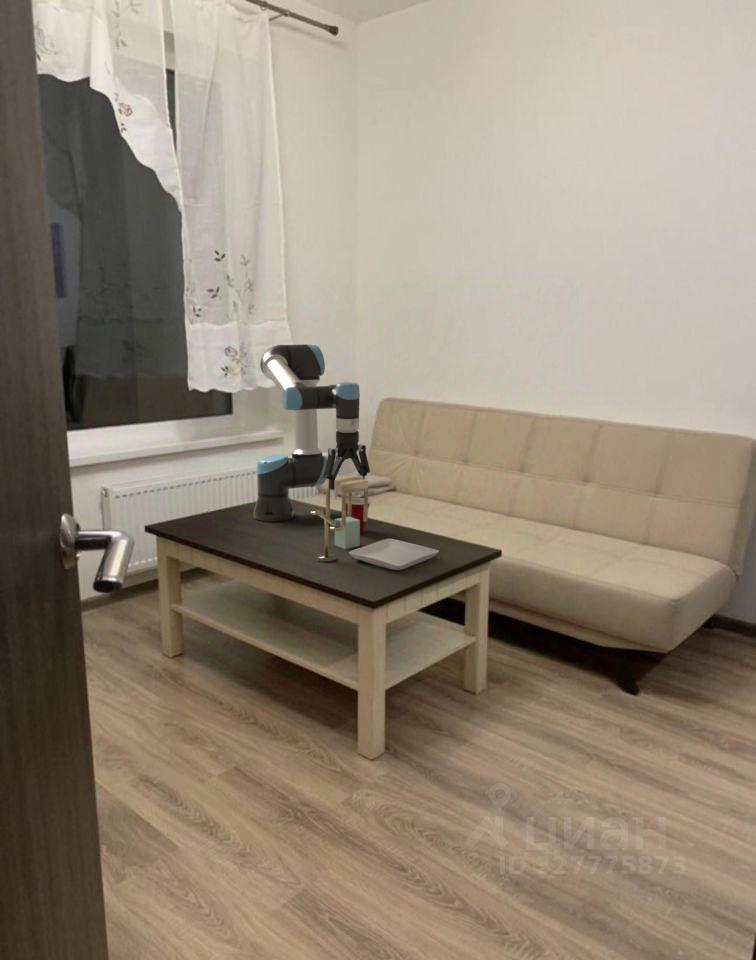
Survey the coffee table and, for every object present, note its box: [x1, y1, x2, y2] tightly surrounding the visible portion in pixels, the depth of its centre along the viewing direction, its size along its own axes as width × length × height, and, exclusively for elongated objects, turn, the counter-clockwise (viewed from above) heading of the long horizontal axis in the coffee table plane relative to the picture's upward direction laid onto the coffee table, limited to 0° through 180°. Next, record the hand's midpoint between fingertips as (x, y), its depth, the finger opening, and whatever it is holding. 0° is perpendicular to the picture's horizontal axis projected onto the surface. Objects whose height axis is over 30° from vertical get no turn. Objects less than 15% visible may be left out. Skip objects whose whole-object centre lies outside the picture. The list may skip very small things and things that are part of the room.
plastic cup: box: [340, 496, 372, 535], centre depth 268 cm, size 11×11×12 cm
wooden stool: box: [325, 474, 369, 527], centre depth 251 cm, size 10×10×14 cm
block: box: [334, 516, 361, 550], centre depth 253 cm, size 6×6×9 cm
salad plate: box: [348, 538, 440, 571], centre depth 239 cm, size 21×21×3 cm
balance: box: [310, 509, 343, 563], centre depth 237 cm, size 15×6×15 cm, turn 39°
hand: (346, 496), depth 250 cm, fingers closed on wooden stool, 10 cm apart
